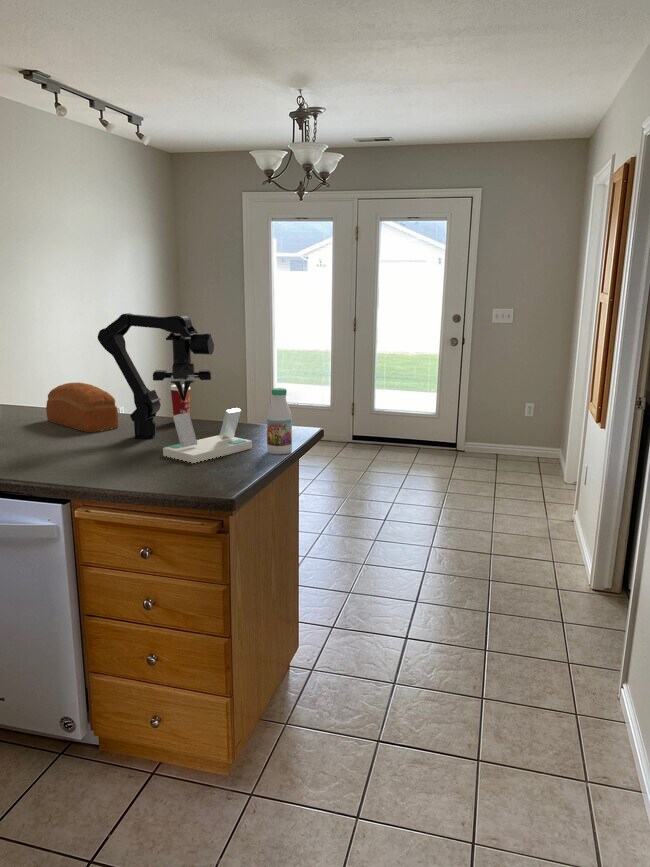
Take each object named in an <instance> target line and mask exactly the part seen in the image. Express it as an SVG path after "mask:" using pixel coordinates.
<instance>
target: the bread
mask: <svg viewBox="0 0 650 867" xmlns="http://www.w3.org/2000/svg"><path fill="white" fill-rule="evenodd" d="M45 407H46V408H45V409H46V419H47V421H48V422H50V423H54V424H57V425H60V426H63V427H68V428H70V427H71V428H72V429H73V428H74V429H73V430H76V429H77V431H80V430H81V431H80V432H83V431H84V432H85V433H97V432H96V431H101V430H106V431H108V430H107V429H111V428H115V429H117V428H118V427H119V410H118V407H117V406H116V400H115V398H114V397H113V396H112V395H111V394H110V393H109V392H107V391H106V390H103V389H102V388H100V387H98V386H95V385H92V384H89V383H84V382H68V383H63V384H60V385H58V386H56V387H54V388H52V389H51V390H50V391H49V392H48V393H47V400H46V406H45ZM116 427H117V428H116ZM71 428H70V429H71ZM111 430H112V429H111ZM101 432H102V431H101Z"/></svg>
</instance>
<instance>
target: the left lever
mask: <svg viewBox="0 0 650 867" xmlns="http://www.w3.org/2000/svg"><path fill="white" fill-rule="evenodd" d="M190 415H191V414H189V413H183V414H178V415H173V416H172V418H173V422H174V426H175V428H176V433H177V438H178V440H179V444H180V445H181V448H184V447H189V446H193V445H197V440H198V439H197V438H196V437H197V436H196V434H195V430H194V426H193V422H192V418H191V416H190Z"/></svg>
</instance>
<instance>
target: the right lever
mask: <svg viewBox="0 0 650 867" xmlns="http://www.w3.org/2000/svg"><path fill="white" fill-rule="evenodd" d="M241 412H242V410H241V409H240V408H238V407H235V408H231V409H227V410H225V413H224V417H223V419H222V420H223V421H222V423H221V424H222V425H221V429H220V431H219V434H218V435H219V438H220V439H221V440H225V439H229V438H233V437H235V434H236V430H237V427H238V423H239V419H240V416H241Z"/></svg>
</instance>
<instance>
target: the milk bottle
mask: <svg viewBox="0 0 650 867" xmlns="http://www.w3.org/2000/svg"><path fill="white" fill-rule="evenodd" d="M287 394H288V393H287V388H284V387H276V388H272V389H271V398H272V399H271V403H270V406H269V408H268V410H267V414H266V415H267V416H266V445H267V446H266V448H267V451H266V452H267V453H269V454H271V455H277V456H278V455H279V456H281V455H288V454H290V453H292V451H293V430H292V429H293V426H292V424H293V423H292V422H293V420H292V418H293V417H292V412H291V409H290V406H289V404H288V401H287Z"/></svg>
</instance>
